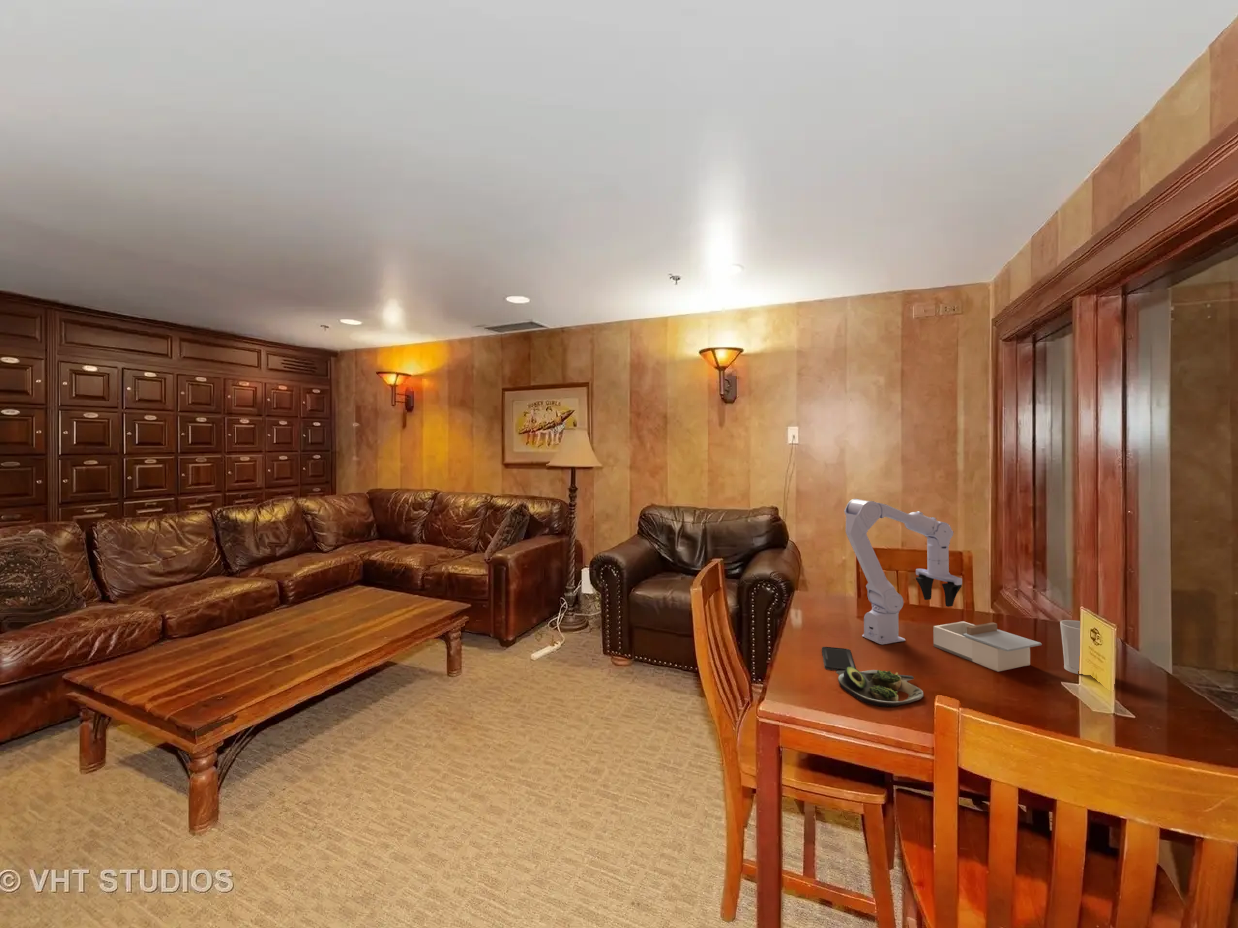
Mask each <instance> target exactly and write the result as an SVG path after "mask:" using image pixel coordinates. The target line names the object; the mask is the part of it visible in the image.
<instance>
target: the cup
mask: <svg viewBox="0 0 1238 928" xmlns="http://www.w3.org/2000/svg"><path fill="white" fill-rule="evenodd" d="M1080 621H1081V620H1072V619H1071V620H1070V619H1064V620H1063V619H1062V620H1060V621H1059V624H1060V634H1061V635H1060V636H1061V643H1062V653H1063V664H1064V665H1063V668H1064V670H1066V671H1068V672H1069V673H1072V674H1076V675H1079V674H1078V671H1079V656H1080Z"/></svg>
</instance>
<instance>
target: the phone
mask: <svg viewBox="0 0 1238 928" xmlns="http://www.w3.org/2000/svg"><path fill="white" fill-rule="evenodd" d="M821 655H822V660H823V666H824V669H825V670H828V671H835V672H836V671H845V669H846V668H847V667H853V668H855V669H856V664H855V661H854V657H853V654H852V652H851V650H850V649H849V648H845V647H844V648H841V647H834V646H833V647H832V646H822V647H821Z"/></svg>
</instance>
